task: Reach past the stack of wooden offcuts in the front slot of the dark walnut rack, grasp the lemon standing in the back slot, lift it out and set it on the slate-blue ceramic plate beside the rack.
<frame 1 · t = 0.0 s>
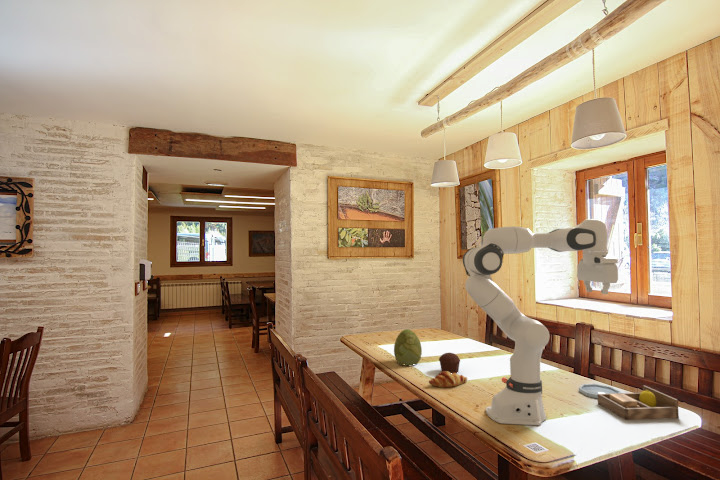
hand: (596, 292, 153), 48 cm above the table, tool pointing down, fingers open, 8 cm apart
lemon: (648, 410, 153), resting in rack
croissant: (448, 385, 186), on the table
muffin: (449, 372, 206), on the table
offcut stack: (624, 411, 153), resting in rack
plate: (599, 393, 172), on the table
decorative sculpture: (407, 363, 224), on the table
rack: (636, 410, 153), on the table
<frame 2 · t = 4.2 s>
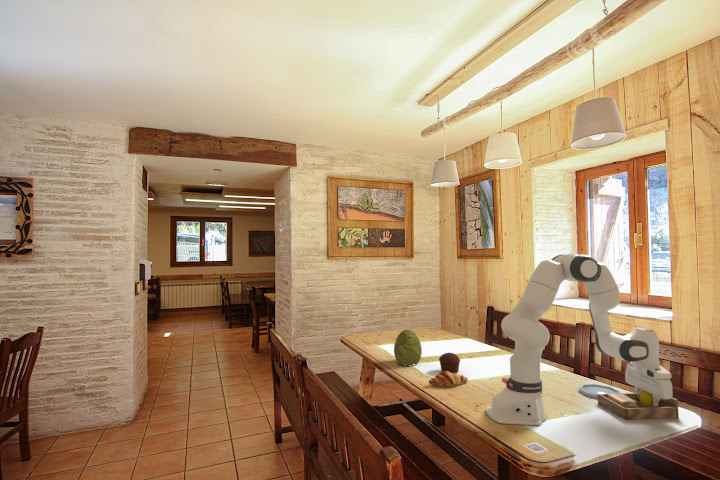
hand: (647, 402, 153), 3 cm above the table, tool pointing down, fingers closed on lemon, 6 cm apart
lemon: (648, 410, 153), resting in rack, touching gripper
everything else where it was.
when the fingers open (12 cm above the table, at t = 8.8 s): lemon drops 4 cm, resting on plate.
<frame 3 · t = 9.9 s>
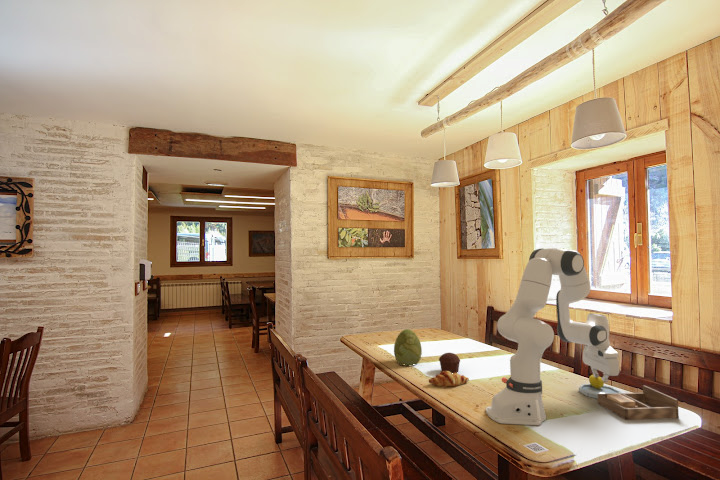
hand: (600, 379, 172), 6 cm above the table, tool pointing down, fingers open, 5 cm apart
lemon: (600, 386, 173), point 3 cm above the table, touching gripper, plate
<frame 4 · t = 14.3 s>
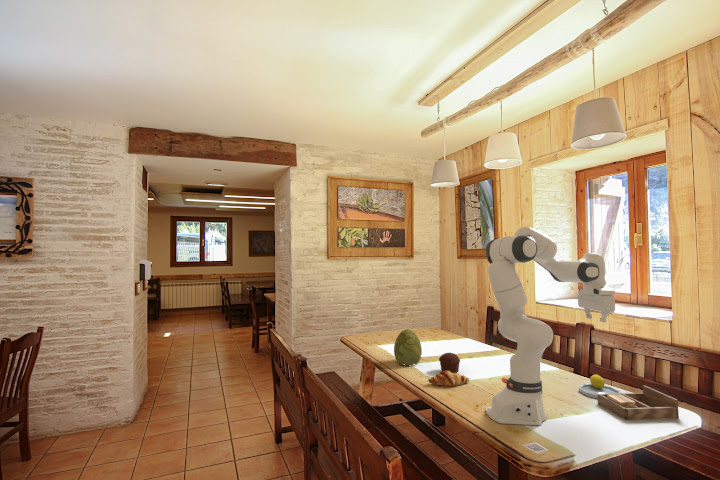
hand: (595, 320, 168), 34 cm above the table, tool pointing down, fingers open, 8 cm apart
lemon: (600, 386, 173), point 3 cm above the table, touching plate
at the end: lemon inside the target area on the plate (1.2 cm from its centre), point 2.8 cm above the plate's base; lemon touching plate; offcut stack moved 1.5 cm from its start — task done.
